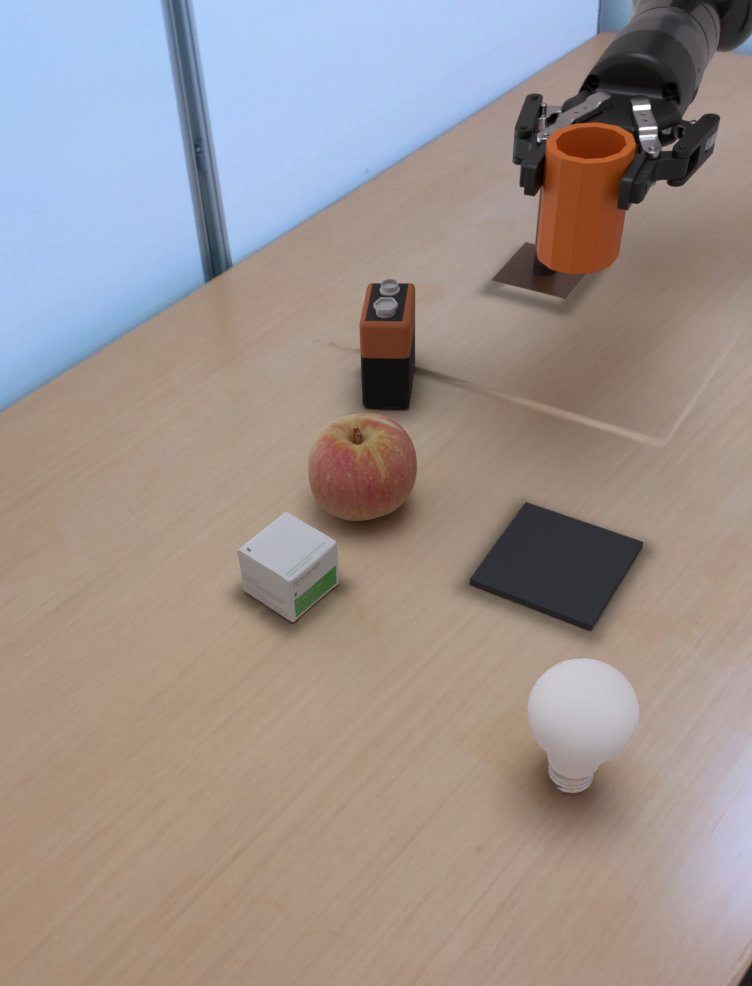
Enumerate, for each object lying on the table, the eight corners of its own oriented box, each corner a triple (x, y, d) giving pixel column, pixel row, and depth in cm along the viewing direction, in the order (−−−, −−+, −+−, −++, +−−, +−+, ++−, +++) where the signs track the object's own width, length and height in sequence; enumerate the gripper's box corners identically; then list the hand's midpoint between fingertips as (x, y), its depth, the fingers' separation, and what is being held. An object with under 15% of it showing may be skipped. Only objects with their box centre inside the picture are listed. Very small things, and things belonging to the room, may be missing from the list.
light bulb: (574, 843, 70) (596, 743, 62) (497, 779, 74) (508, 677, 66) (641, 783, 73) (671, 679, 64) (563, 724, 76) (582, 619, 68)
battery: (361, 410, 101) (357, 315, 94) (370, 365, 105) (366, 271, 98) (409, 411, 100) (409, 315, 93) (415, 366, 105) (416, 272, 97)
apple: (431, 523, 90) (432, 447, 84) (329, 552, 89) (323, 477, 83) (394, 460, 96) (392, 384, 90) (297, 486, 95) (289, 411, 89)
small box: (293, 625, 85) (288, 581, 81) (241, 592, 87) (234, 548, 84) (342, 584, 87) (339, 539, 83) (290, 552, 90) (285, 507, 86)
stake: (596, 267, 113) (619, 109, 101) (564, 307, 109) (583, 147, 97) (524, 250, 116) (538, 95, 104) (490, 288, 112) (500, 131, 100)
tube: (630, 242, 79) (648, 131, 73) (598, 281, 76) (614, 169, 70) (557, 226, 81) (569, 117, 75) (523, 263, 78) (533, 152, 72)
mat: (642, 547, 86) (643, 541, 86) (590, 630, 81) (592, 625, 81) (525, 506, 91) (525, 501, 90) (469, 584, 86) (469, 578, 85)
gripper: (555, 19, 82) (475, 119, 72) (757, 36, 76) (699, 147, 67) (545, 120, 87) (470, 226, 78) (733, 143, 82) (676, 259, 73)
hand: (576, 189), depth 73 cm, fingers closed on tube, 5 cm apart
